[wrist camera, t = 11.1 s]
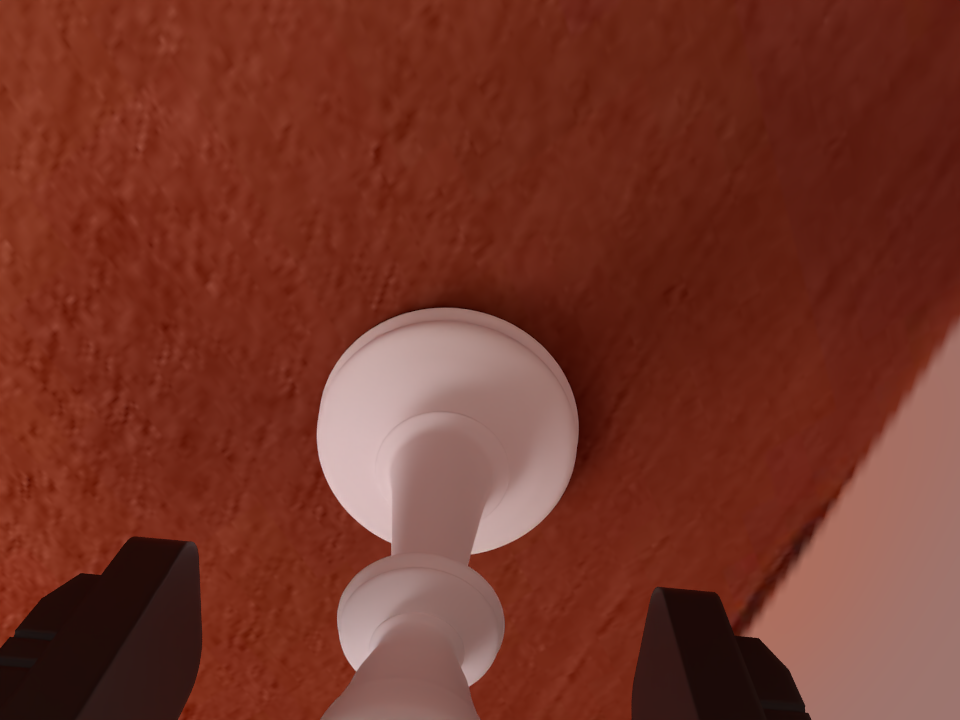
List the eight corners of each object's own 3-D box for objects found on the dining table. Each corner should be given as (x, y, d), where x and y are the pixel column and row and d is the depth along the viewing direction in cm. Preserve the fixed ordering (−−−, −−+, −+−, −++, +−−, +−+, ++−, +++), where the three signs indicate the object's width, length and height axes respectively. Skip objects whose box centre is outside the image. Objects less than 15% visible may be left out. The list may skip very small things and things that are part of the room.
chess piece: (620, 361, 15) (809, 890, 6) (521, 570, 17) (540, 1239, 7) (364, 267, 14) (108, 680, 5) (289, 493, 16) (-2, 1107, 7)
